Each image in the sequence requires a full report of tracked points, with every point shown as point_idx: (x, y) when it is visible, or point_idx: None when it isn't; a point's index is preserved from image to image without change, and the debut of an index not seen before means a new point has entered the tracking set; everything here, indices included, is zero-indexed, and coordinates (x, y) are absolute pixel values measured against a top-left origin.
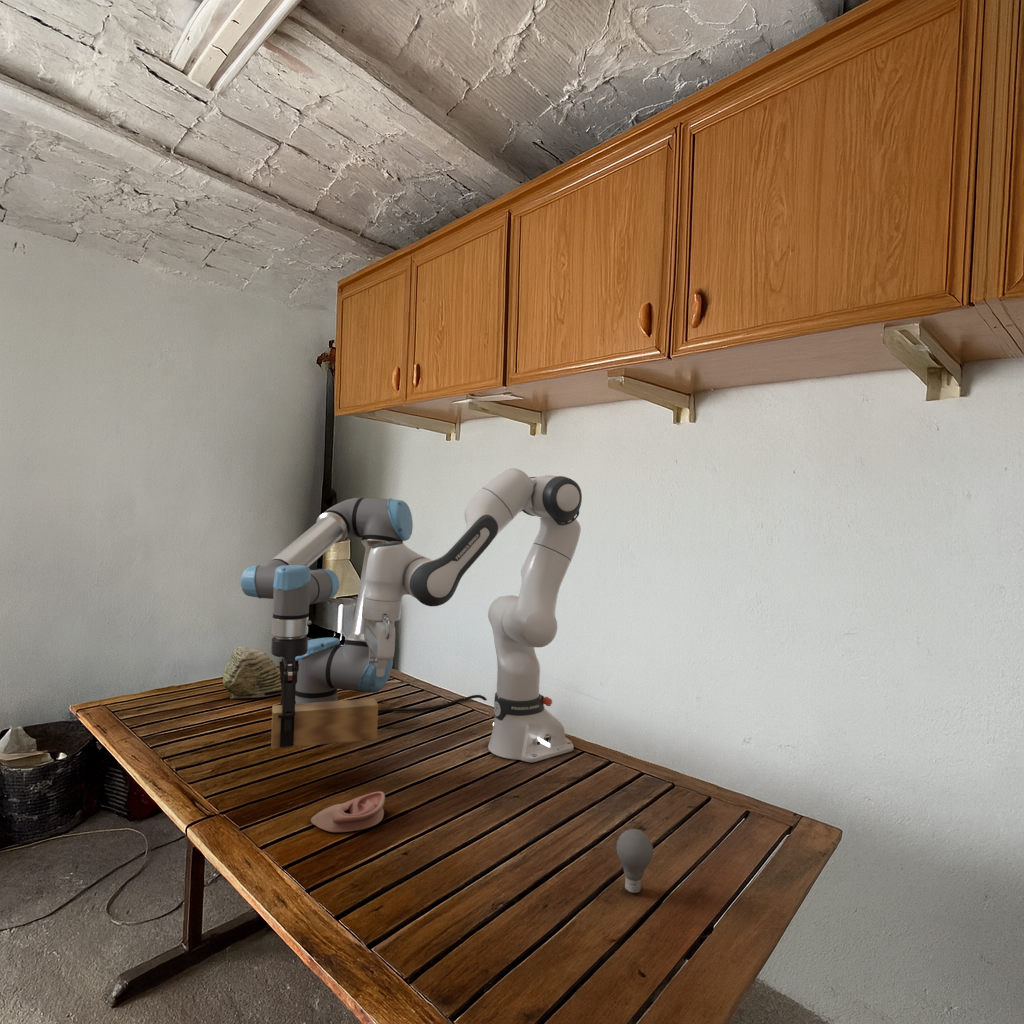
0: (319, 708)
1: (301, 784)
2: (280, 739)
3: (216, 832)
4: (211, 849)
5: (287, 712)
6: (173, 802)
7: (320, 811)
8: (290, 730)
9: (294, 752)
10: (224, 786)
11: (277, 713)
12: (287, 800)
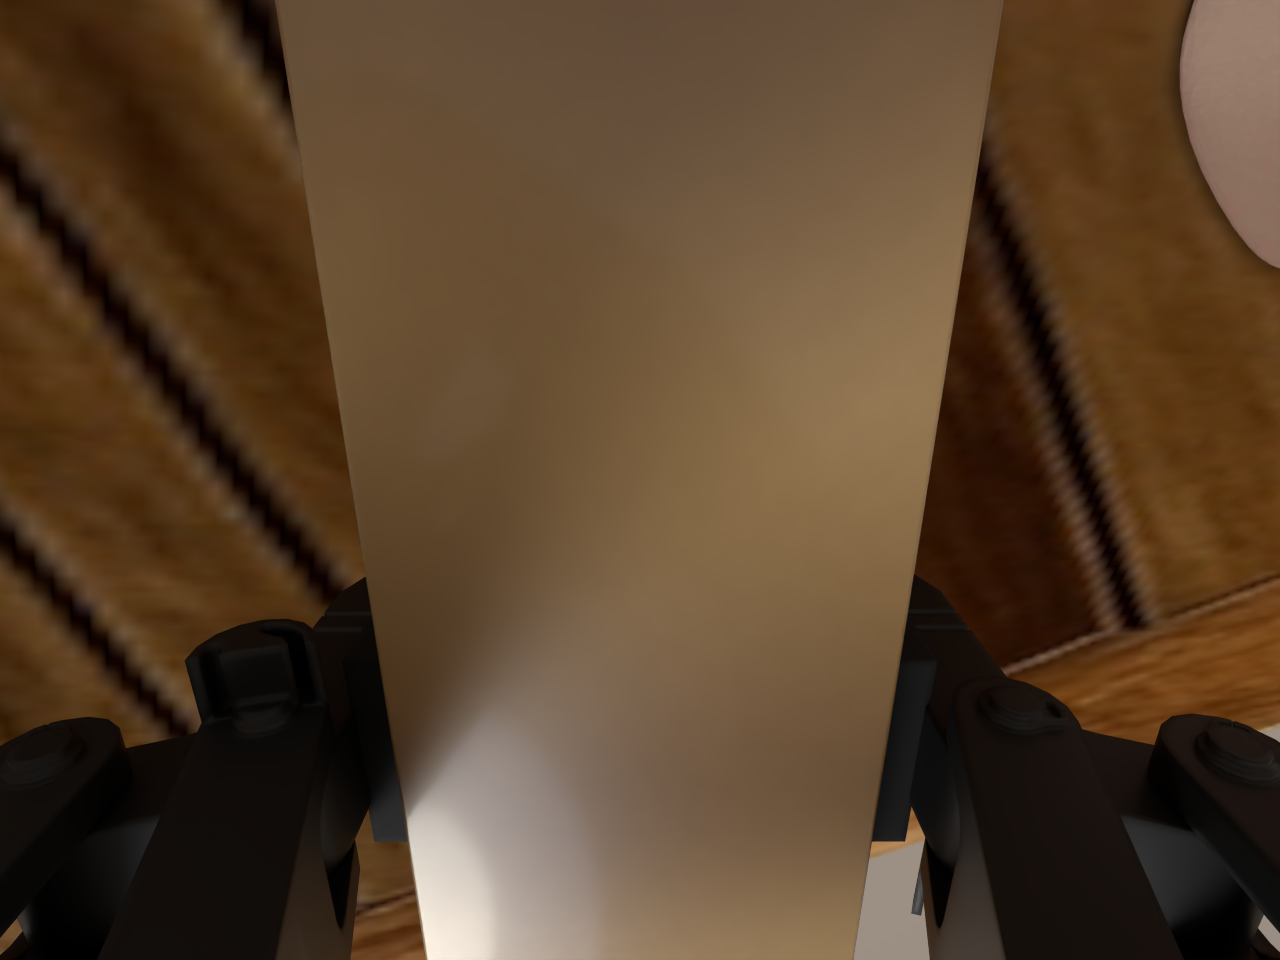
0: (879, 130)
1: None
2: None
3: (1107, 718)
4: (1256, 727)
5: (1261, 911)
6: None
7: (1264, 199)
8: (936, 598)
9: (111, 319)
10: None
11: (852, 931)
12: None
